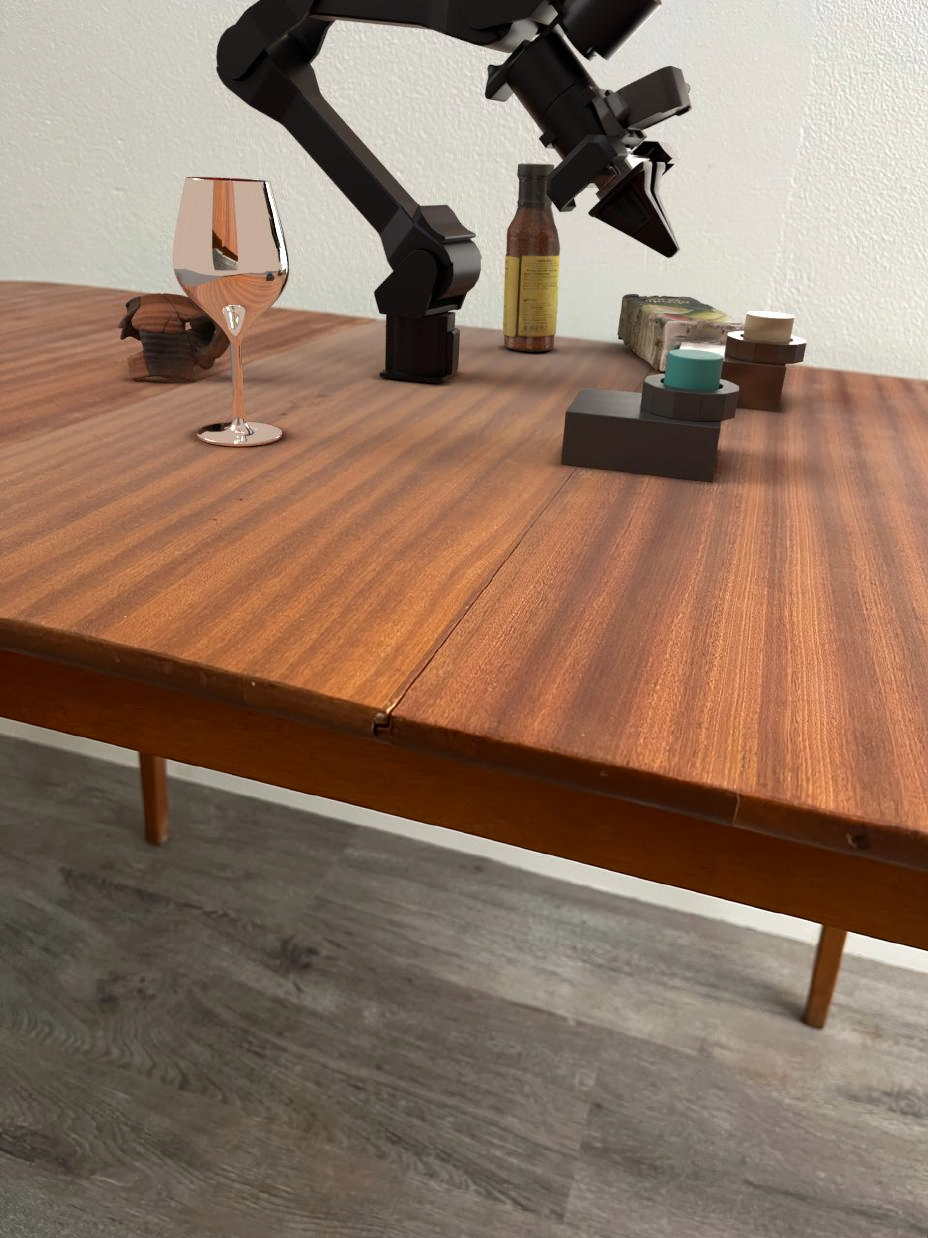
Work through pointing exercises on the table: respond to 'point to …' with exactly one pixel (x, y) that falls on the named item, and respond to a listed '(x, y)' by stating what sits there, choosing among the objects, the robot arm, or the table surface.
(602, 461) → the dark brown block
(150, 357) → the pottery mug
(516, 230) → the sauce bottle
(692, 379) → the teal button
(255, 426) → the wineglass
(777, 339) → the bell button
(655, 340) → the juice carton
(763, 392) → the base
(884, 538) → the table surface
